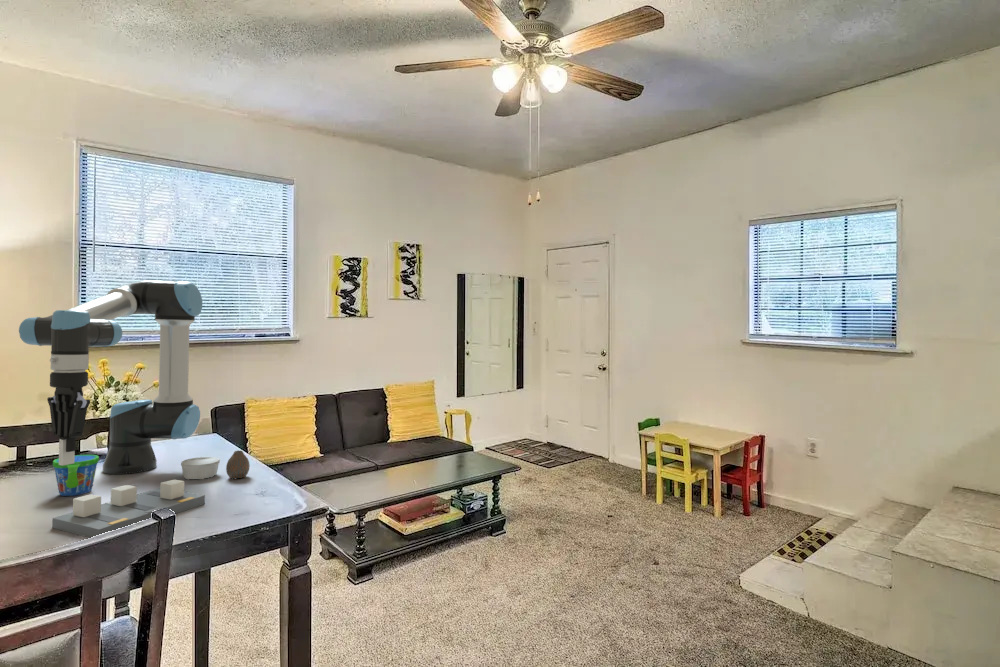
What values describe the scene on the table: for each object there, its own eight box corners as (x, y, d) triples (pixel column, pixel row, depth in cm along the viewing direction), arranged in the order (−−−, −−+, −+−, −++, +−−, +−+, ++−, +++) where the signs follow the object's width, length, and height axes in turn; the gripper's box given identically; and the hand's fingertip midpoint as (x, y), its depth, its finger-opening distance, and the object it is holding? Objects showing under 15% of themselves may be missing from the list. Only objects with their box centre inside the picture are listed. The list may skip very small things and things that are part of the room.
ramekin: (213, 470, 183) (213, 454, 183) (224, 477, 175) (224, 461, 175) (176, 475, 176) (177, 459, 175) (185, 483, 168) (186, 466, 168)
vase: (231, 474, 178) (231, 448, 178) (252, 474, 179) (253, 448, 179) (222, 480, 171) (222, 453, 171) (244, 480, 172) (245, 453, 172)
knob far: (160, 497, 145) (160, 483, 145) (173, 493, 149) (174, 479, 149) (170, 499, 144) (170, 484, 144) (184, 495, 148) (184, 481, 148)
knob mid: (110, 504, 139) (111, 488, 139) (126, 499, 143) (126, 484, 143) (121, 506, 138) (121, 490, 138) (136, 501, 141) (136, 486, 141)
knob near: (72, 514, 131) (73, 498, 131) (90, 509, 134) (90, 494, 134) (83, 517, 129) (83, 501, 129) (100, 512, 133) (101, 496, 133)
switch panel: (52, 527, 129) (52, 517, 129) (161, 495, 155) (162, 486, 155) (98, 539, 123) (99, 528, 123) (204, 503, 149) (204, 494, 149)
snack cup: (61, 487, 160) (61, 453, 160) (103, 483, 164) (104, 451, 164) (43, 503, 146) (44, 466, 146) (91, 499, 150) (91, 463, 150)
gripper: (36, 370, 133) (33, 464, 133) (69, 373, 129) (66, 470, 129) (69, 369, 140) (66, 458, 140) (102, 371, 136) (99, 463, 136)
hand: (66, 464), depth 134 cm, fingers closed
